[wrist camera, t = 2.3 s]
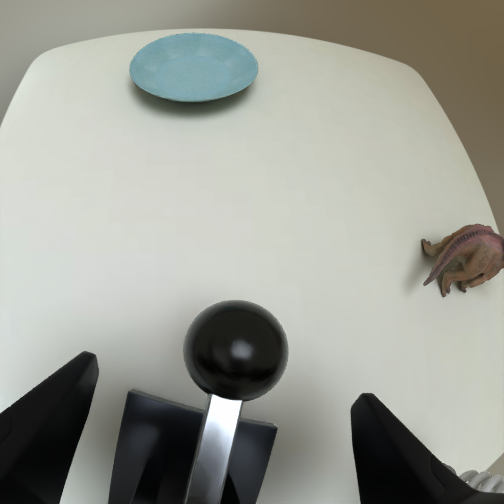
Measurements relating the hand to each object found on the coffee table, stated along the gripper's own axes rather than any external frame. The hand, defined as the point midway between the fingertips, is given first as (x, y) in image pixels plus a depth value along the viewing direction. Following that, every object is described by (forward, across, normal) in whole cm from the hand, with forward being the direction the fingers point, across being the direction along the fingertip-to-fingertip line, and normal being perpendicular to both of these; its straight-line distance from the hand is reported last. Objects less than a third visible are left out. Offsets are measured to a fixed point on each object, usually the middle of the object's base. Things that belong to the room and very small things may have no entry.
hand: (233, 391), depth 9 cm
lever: (-1, 0, +4) cm, 4 cm away
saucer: (+24, +7, -10) cm, 27 cm away
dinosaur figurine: (+14, -20, -1) cm, 24 cm away
